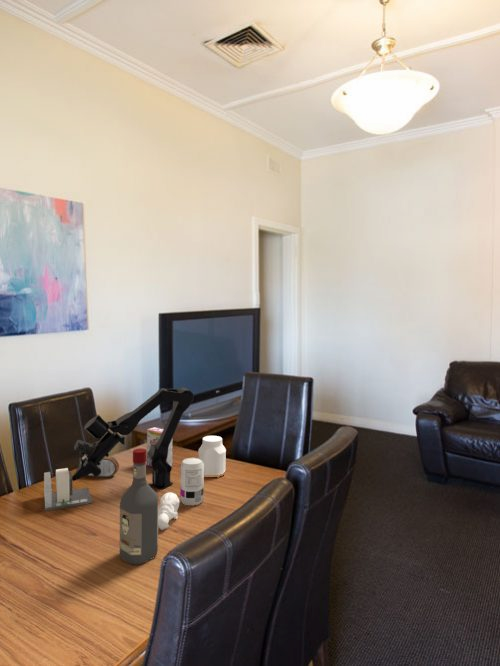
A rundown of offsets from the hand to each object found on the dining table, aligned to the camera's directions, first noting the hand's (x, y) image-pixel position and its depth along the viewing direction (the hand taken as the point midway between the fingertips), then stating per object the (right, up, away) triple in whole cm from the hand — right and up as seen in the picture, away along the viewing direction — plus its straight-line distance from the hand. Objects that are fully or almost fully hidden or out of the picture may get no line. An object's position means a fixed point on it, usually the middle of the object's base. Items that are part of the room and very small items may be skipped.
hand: (72, 479), depth 160 cm
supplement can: (+43, -8, +1) cm, 44 cm away
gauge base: (-2, -7, 0) cm, 7 cm away
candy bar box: (+24, -6, +34) cm, 42 cm away
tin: (+2, -6, +23) cm, 23 cm away
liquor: (+32, -10, -34) cm, 48 cm away
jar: (+48, -7, +28) cm, 56 cm away
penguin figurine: (+37, -9, -15) cm, 41 cm away
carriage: (-2, -6, -2) cm, 7 cm away
